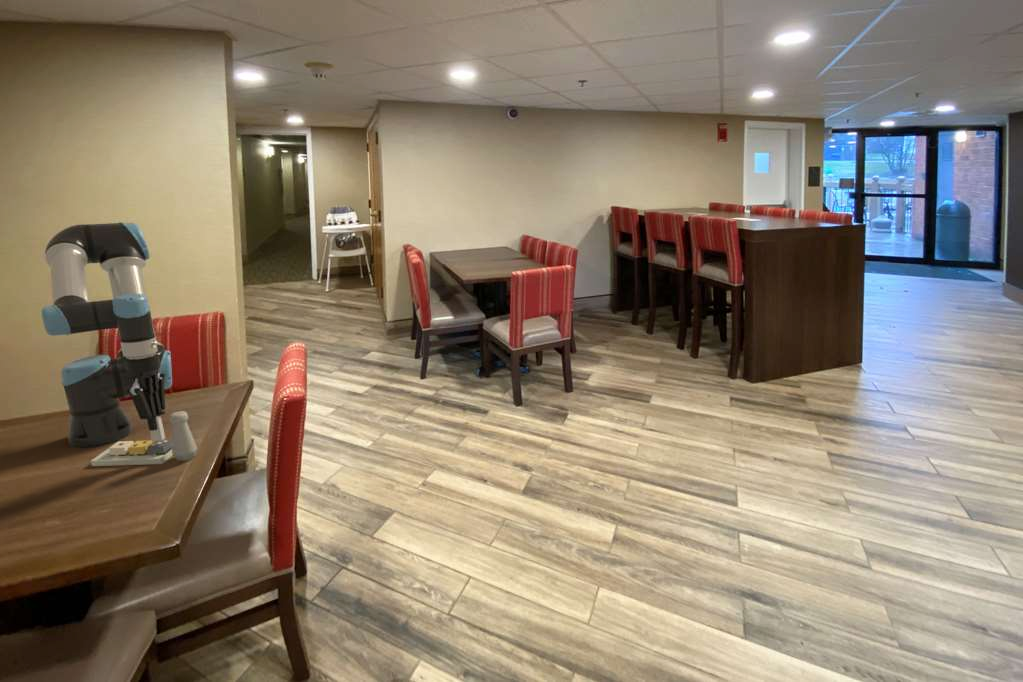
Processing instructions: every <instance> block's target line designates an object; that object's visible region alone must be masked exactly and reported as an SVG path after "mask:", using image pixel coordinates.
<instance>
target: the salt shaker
mask: <svg viewBox="0 0 1023 682" xmlns="http://www.w3.org/2000/svg"><path fill="white" fill-rule="evenodd" d="M168 420H169V422H170V424H172V426H173V427H172V439H171V442H172V453H173V455H172V456H173V457H174V458H175V459H176V461H177V462H188V461H191V460H192V459H194V458H195V457H196V454H197V450H198V446H197V444H196V441H195V439H194V437H193V434H192V432H191V429H190V427H189V424H188V420H189V414H188V413H187V412H186V411H183V410H180V411H174V412H172V413H171V414H169V416H168Z"/></svg>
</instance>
